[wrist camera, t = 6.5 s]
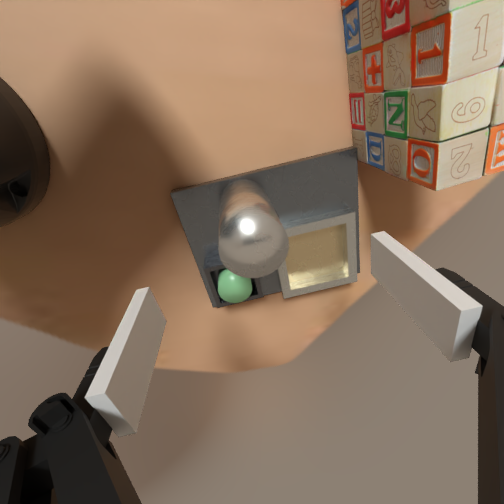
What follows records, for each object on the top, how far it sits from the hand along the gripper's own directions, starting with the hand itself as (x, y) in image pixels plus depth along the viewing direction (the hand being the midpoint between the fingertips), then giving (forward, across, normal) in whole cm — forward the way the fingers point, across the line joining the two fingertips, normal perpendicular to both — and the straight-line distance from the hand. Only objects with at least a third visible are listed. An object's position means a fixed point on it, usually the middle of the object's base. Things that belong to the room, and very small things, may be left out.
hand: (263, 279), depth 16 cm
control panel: (+15, +2, -4) cm, 16 cm away
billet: (+14, 0, 0) cm, 14 cm away
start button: (+13, -3, -7) cm, 15 cm away
